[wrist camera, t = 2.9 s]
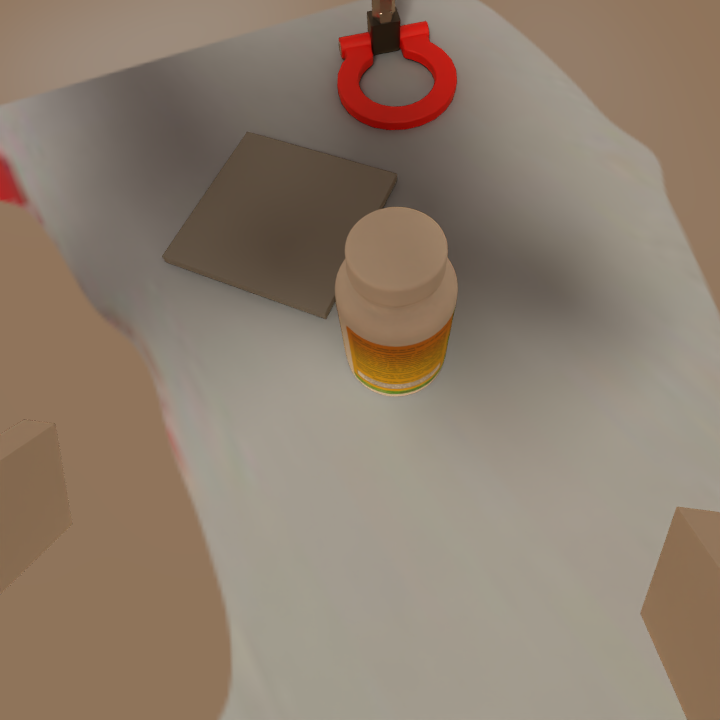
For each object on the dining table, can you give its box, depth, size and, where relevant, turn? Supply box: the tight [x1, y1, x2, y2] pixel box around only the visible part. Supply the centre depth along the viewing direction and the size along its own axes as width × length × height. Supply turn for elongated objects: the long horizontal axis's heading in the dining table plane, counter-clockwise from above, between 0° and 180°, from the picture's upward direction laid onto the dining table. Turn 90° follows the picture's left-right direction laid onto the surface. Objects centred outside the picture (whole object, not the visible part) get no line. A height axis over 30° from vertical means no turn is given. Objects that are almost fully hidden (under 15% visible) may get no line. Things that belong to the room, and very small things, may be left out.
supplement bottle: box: [335, 207, 458, 396], centre depth 24 cm, size 5×5×10 cm
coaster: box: [162, 132, 397, 319], centre depth 33 cm, size 11×11×1 cm
